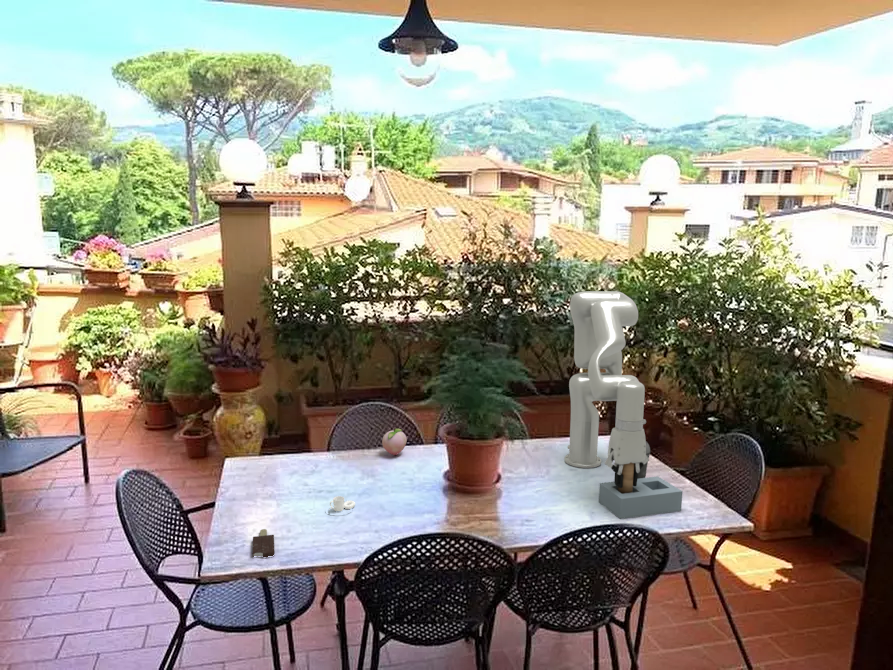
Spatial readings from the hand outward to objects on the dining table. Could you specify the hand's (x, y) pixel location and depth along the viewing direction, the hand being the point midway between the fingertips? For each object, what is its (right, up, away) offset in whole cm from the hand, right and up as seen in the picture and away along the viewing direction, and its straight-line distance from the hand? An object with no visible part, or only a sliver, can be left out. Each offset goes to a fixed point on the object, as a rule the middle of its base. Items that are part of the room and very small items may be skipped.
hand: (625, 484), depth 194 cm
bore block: (+5, -7, +3) cm, 9 cm away
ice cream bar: (-99, -11, -23) cm, 102 cm away
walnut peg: (0, -4, +1) cm, 4 cm away
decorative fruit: (-71, 0, +44) cm, 83 cm away
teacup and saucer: (-80, -8, -3) cm, 80 cm away
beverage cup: (+8, -5, +18) cm, 20 cm away
